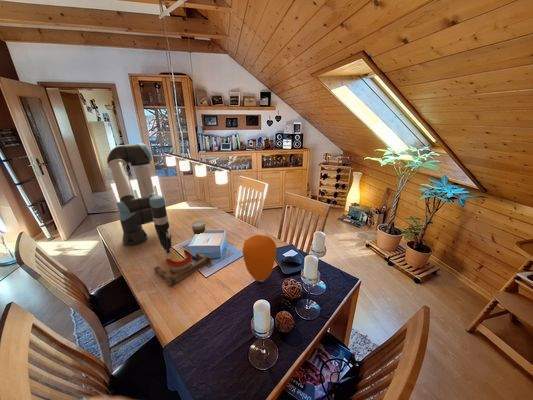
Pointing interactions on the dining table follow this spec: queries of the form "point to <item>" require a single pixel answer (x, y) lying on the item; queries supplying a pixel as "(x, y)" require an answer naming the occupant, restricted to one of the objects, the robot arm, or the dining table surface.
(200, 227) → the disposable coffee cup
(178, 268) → the toy
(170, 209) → the dining table surface
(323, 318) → the dining table surface
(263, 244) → the orange egg-shaped ornament
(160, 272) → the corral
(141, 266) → the dining table surface
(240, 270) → the dining table surface
